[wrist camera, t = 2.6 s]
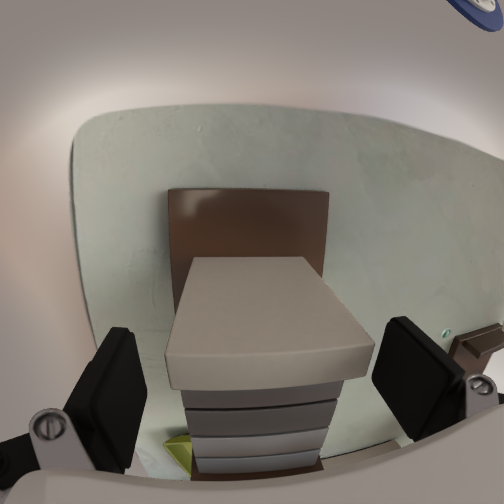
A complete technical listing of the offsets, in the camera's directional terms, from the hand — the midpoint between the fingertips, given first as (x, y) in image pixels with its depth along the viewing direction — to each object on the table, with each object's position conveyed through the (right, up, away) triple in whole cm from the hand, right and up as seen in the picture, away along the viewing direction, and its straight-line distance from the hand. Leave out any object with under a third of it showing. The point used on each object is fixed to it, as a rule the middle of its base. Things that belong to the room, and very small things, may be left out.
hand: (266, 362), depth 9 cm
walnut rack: (-1, 0, +10) cm, 11 cm away
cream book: (-1, +3, +9) cm, 9 cm away
